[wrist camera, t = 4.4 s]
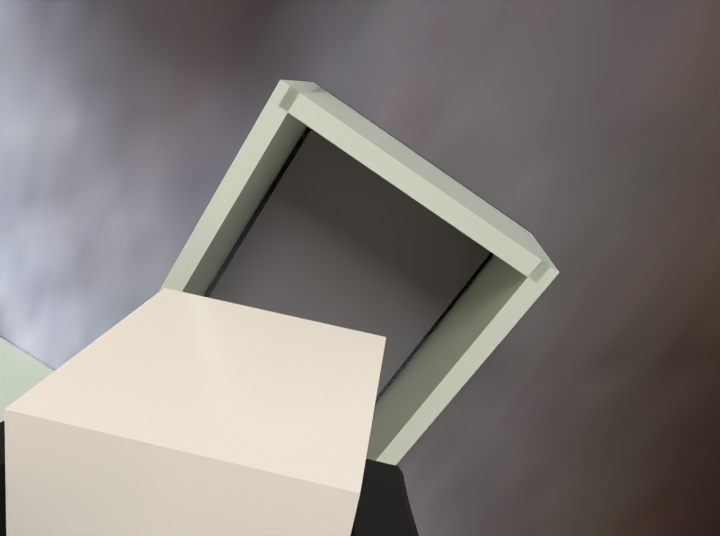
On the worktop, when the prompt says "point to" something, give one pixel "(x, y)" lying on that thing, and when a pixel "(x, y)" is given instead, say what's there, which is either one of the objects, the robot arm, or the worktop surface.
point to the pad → (350, 254)
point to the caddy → (415, 178)
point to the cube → (196, 427)
